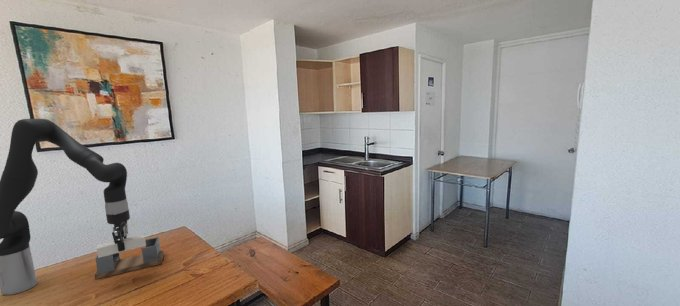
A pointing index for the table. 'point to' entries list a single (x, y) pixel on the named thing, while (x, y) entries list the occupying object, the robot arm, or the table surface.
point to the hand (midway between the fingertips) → (123, 248)
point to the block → (128, 242)
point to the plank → (130, 265)
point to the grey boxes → (111, 261)
